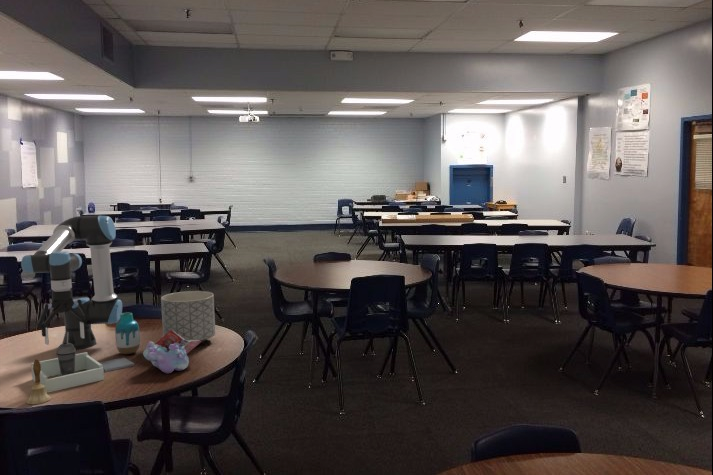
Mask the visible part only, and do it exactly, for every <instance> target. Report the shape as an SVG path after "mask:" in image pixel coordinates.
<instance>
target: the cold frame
mask: <svg viewBox="0 0 713 475" xmlns="http://www.w3.org/2000/svg"><path fill="white" fill-rule="evenodd" d="M39 362H40V364H41V372H40V384H41V385H44V386H45V390H46V393H47V394H48V393H52V392H56V391H61V390H65V389H70V388H74V387H78V386H83V385H87V384H91V383H96V382H100V381H104V380H105V374H104V372H105V371H104V370H103V367H102V364H100V362H99V361H97V359H94V357H92V356H90V355H89V352H87V351H86V352H81V353H76V354H75V373H73V374H69V375H64V376H61V372H60V366H59V360H58V357H55V358H51V359H46V360H41V361H40V360H39ZM33 364H34V362H32V363H31V364H30V365H31V379H32V381H33V382H34V383H35V374H34V371H33ZM82 370H83V371H82ZM50 376H51V377H52V378H49V377H50ZM55 376H56V377H55Z"/></svg>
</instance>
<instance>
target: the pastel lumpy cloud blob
mask: <svg viewBox="0 0 713 475" xmlns="http://www.w3.org/2000/svg"><path fill="white" fill-rule="evenodd" d="M200 342H202V341H199V340H186V341H185V339H184V338H183V337H181V336H180V335H178V334H177V333H176V332H174V331H172V330H170V331H169V332H168V333H167V334H166V335H165V336H164V337H163V336H162V337H161V338H160V339H159V340H158V341H157V342H156V343H155V342H153V341H152V340H151V341H148V344H147V345H145V349H144V350H143V352H142V355H143V356H144V358H145V359H146V360H147V361H150V362H151V364H152V365H153V366H154V367H156V368H158V369H159V370H160V371H161V372H163V373H164V374H167V375H169V374H172V373H173V371H179V372H180V371H184V370H185V369H186V368H188V366H189V363H190V358H189V356H188V353H190V352H191V351H192V350H193V349H194V348H196V347H197V346H198V345H200V344H201V343H200ZM199 343H200V344H199ZM202 343H203V342H202Z"/></svg>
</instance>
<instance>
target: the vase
mask: <svg viewBox="0 0 713 475" xmlns="http://www.w3.org/2000/svg"><path fill="white" fill-rule="evenodd" d="M115 324H116V325H115V344H116V345H115V346H116V349H117V351H118V352H119V354H123V355H130V354H131V355H132V354H134V353H136V352H137V351H139V349H140V344H141V343H140V342H141V340H140V327H139V323H138V322H137V321H136V320H134V316H133V313H132V312H122V314H120V320H119V321H118V322H117V323H115Z"/></svg>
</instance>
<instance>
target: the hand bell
mask: <svg viewBox="0 0 713 475" xmlns="http://www.w3.org/2000/svg"><path fill="white" fill-rule="evenodd" d="M33 363H34V364H33V371H34V374H35V382H34V385H33V386H32V387H31V390H30V395H29V397H28V399H27V400H26V403H25V404H28V405H41V404H44V403H47V402H49V401H51V400H52V397H51V395H49V394H48V393H46V390H45V386H44V385H41V384H40V372H41V364H40V359H39V358H35V359H34V361H33Z"/></svg>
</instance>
